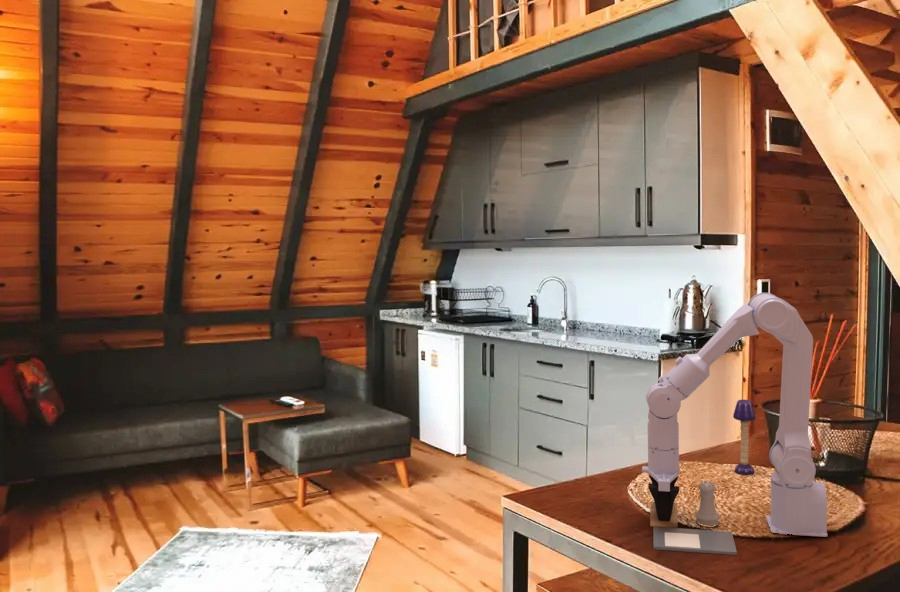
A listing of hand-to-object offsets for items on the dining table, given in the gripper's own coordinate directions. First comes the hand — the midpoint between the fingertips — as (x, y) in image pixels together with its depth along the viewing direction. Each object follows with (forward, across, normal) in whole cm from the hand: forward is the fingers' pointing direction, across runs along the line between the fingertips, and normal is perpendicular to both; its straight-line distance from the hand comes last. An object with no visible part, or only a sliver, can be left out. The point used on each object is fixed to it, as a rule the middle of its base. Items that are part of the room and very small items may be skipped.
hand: (663, 514), depth 150 cm
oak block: (+1, 0, 0) cm, 1 cm away
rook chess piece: (+2, 0, +8) cm, 8 cm away
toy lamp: (+2, -32, +18) cm, 37 cm away
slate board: (+1, +8, +5) cm, 10 cm away
